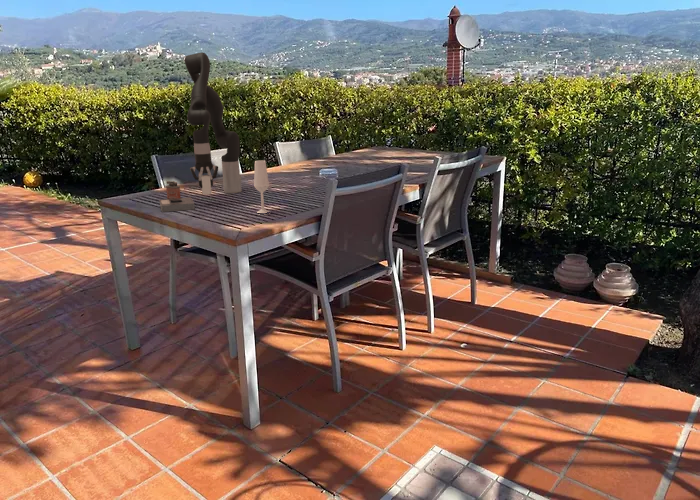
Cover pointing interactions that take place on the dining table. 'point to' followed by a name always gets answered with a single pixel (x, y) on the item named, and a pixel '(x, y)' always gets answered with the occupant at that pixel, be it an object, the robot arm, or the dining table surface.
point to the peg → (206, 185)
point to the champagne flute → (261, 181)
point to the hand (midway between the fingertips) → (206, 187)
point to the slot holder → (177, 204)
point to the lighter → (173, 190)
